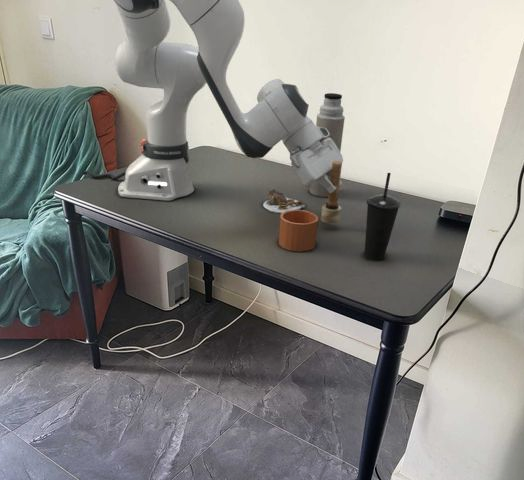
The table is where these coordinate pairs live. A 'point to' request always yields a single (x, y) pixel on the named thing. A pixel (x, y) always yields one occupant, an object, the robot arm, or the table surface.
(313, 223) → the tumbler
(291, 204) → the frog figurine
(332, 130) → the thermos bottle
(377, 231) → the drinking cup
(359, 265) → the table surface
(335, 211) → the brush
